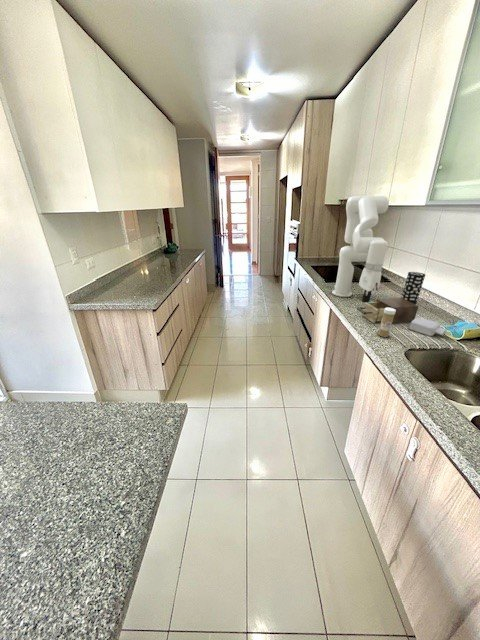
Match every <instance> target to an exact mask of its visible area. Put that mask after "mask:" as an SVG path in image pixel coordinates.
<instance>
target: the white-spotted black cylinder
mask: <svg viewBox="0 0 480 640" xmlns="http://www.w3.org/2000/svg"><path fill="white" fill-rule="evenodd" d="M425 278H426V274H425V273H423V272H419V271H418V272H417V271H408V272H407V275H406V280H405V282H404V286H403V289H402V293H401V296H400V298H403V299H405V300H407V301H409V302H411V303H413V304H415V305H417V304H418V303H417V302H418V300H419V297H420V294H421V290H422V287H423V284H424V281H425Z"/></svg>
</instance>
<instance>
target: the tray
mask: <svg viewBox="0 0 480 640" xmlns="http://www.w3.org/2000/svg"><path fill="white" fill-rule="evenodd" d="M387 307H388V306H386V305H384V304H383V303H381V302H377V301H374V302H368V303H367V302H365V303H364V302H362V305H361V307H359V306H357V307H356V310H357V311H359V312H360V313H359V314H360V315H361V316H363V317H364V318H365V319H367V320H368V321H370V322H371V323H372V324H375V323H376V322H381V321H382V318H383V315H384V309H385V308H387ZM388 308H390V307H388Z"/></svg>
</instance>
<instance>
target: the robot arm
mask: <svg viewBox="0 0 480 640" xmlns="http://www.w3.org/2000/svg"><path fill="white" fill-rule="evenodd" d="M389 206H390V203H389V198H388V197H387V196H385V195H353V196H351V197H349V198H348V199H347V201H346V205H345V212H346V225H345V231H344V242H345V243H346V244H348V245H344V246H343V247H341V248H340V249H339V255H338V256H339V258H338V259H339V261H338V268H337V275H336V279H335V285H334V286H333V287H334V289H333V290H331V294H332V295H333V296H335V297H341V298H350V297H352V295H353V293H352V292H351V289H352V288H351V287H352V283H353V278H354V272H355V267H354V265H353V264H352V263H354V262H355V263H365V264H364V267H363V269H362V272H361V275H360V278H359V280H358V281H359V282H358V286H359V288H361V289H362V297H361V298H362V299H361V302H362V303H363V302H364V303H365V302H369V300H371V296H372V295H377V291H378V290H379V289H380V285H381V279H382V270H383V266H384V262H385V258H386V254H387V251H388V247H389V242H388V241H387V240H385V239H384V238H383V237H375V236H374V232H373V229H372V228H374V227H376V225H378V223H379V219H380V218H379V214H385V213H386V212H387V211H388V209H389ZM349 244H351V245H349Z"/></svg>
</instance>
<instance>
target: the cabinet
mask: <svg viewBox="0 0 480 640" xmlns="http://www.w3.org/2000/svg"><path fill="white" fill-rule="evenodd" d="M376 302H381V303H383V304H384V305H386V306H388V307H390V308H393V309H395V310H396V312H395V314H394V318H393V322H392V325H393V324H407V323H411V322H412V321H413V320H414V319H416V316H417V313H418V309H419V305H418V304H416V305H415V304H413V303H411V302H409V301H407V300H405V299H403V298H401V297H387V298H377V299H376Z"/></svg>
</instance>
